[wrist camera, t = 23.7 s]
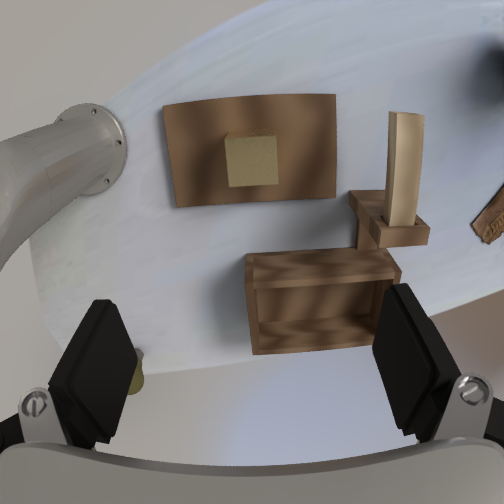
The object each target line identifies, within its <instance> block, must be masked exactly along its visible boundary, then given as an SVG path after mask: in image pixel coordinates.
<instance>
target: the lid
mask: <svg viewBox="0 0 504 504" xmlns="http://www.w3.org/2000/svg"><path fill="white" fill-rule="evenodd" d="M163 114H164V122H165V130H166V137H167V145H168V152H169V159H170V166H171V172H172V179H173V185H174V191H175V197H176V203H177V208H178V207H190V206H202V205H215V204H228V203H243V202H259V201H277V200H298V199H323V198H336V166H337V125H336V94H274V95H254V96H240V97H228V98H218V99H209V100H200V101H192V102H185V103H178V104H172V105H165V106H163Z"/></svg>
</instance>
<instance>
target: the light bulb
mask: <svg viewBox="0 0 504 504" xmlns="http://www.w3.org/2000/svg"><path fill="white" fill-rule="evenodd" d="M135 351H136V353H137V357H138V363H137V366H136V369H135V372H134V375H133V378H132V382H131V385H130V388H129V391H128V394H127V395H133V394H136V393H137V392H139V391H140V390H141V388H142V387H143V383H144V375H143V372H142V359H143V356H144V354H143V352H142V351H141V350H139V349H135Z"/></svg>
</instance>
